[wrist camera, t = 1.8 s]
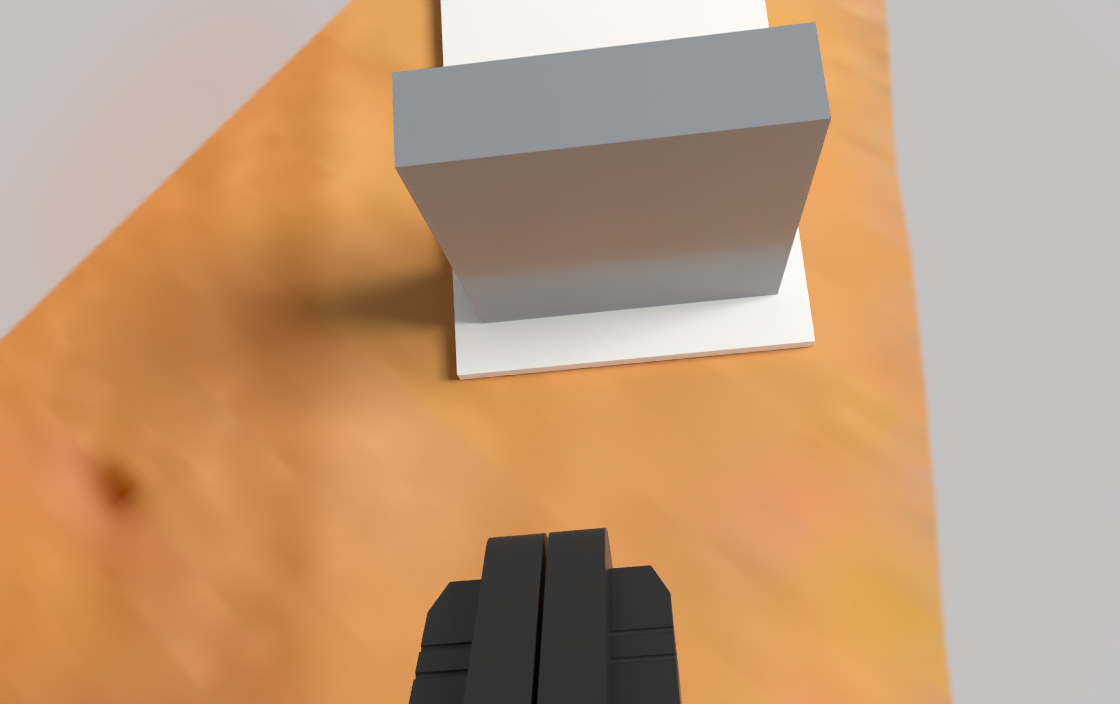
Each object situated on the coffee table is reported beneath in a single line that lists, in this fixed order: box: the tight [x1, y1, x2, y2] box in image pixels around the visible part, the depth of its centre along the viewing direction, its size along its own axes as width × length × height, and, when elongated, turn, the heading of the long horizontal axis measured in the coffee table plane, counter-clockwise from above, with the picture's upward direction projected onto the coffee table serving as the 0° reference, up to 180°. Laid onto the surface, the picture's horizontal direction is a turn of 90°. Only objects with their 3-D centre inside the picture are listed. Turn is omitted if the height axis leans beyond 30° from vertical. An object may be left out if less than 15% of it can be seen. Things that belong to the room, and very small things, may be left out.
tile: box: [392, 22, 831, 323], centre depth 30 cm, size 10×3×12 cm, turn 94°
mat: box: [441, 0, 815, 380], centre depth 37 cm, size 12×16×1 cm
